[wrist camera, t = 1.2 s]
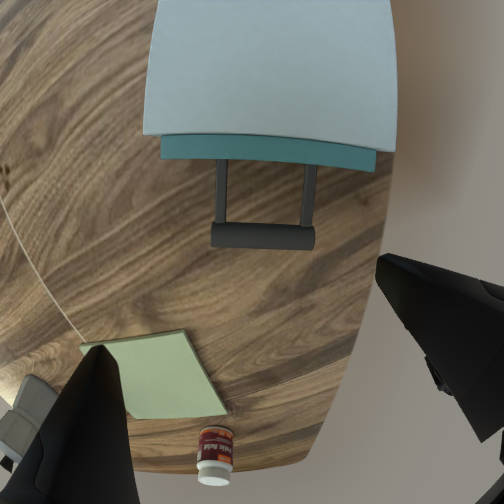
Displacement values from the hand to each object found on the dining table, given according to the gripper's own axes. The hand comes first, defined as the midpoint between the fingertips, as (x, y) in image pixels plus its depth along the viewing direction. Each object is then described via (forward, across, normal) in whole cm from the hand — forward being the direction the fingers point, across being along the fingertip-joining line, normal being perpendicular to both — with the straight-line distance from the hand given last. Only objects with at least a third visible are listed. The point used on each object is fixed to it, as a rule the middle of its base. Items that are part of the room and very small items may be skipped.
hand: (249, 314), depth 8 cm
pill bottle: (+11, +8, +32) cm, 35 cm away
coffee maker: (+18, +35, +25) cm, 46 cm away
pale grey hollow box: (+15, -7, -10) cm, 19 cm away
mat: (+14, +11, +20) cm, 27 cm away
